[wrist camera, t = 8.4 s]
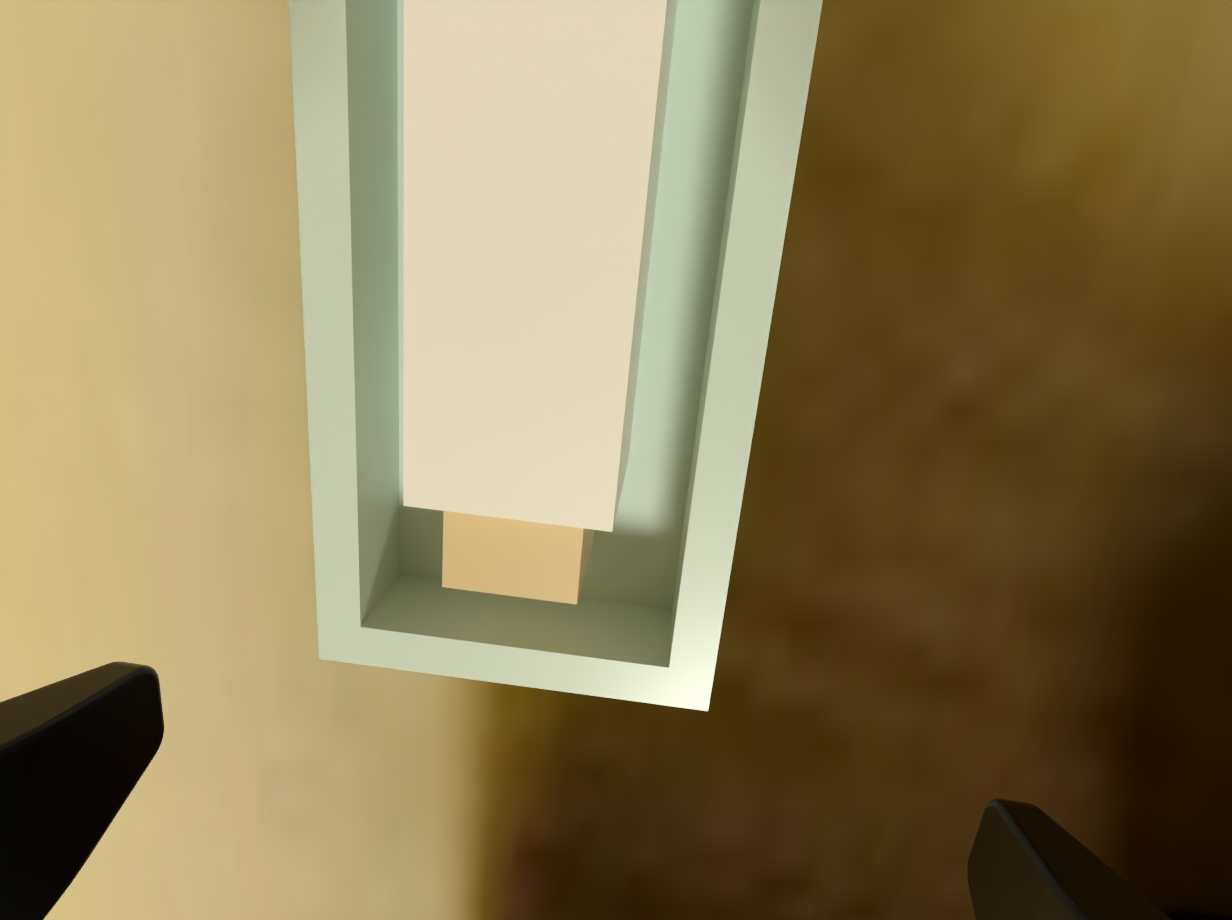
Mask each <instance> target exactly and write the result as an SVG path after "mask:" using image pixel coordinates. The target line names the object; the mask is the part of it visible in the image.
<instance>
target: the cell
mask: <svg viewBox="0 0 1232 920" xmlns="http://www.w3.org/2000/svg"><path fill="white" fill-rule="evenodd" d="M677 1H678V0H404V249H403V506H409V507H417V508H425V509H433V510H441V511H444V513H443V563H442V587H446V588H453V589H461V590H468V591H476V592H484V593H491V594H499V595H507V596H514V597H522V598H530V599H537V600H545V601H553V602H560V603H568V604H576V605H577V602H578V598H579V595H580V591H581V587H582V584H583V580H584V576H585V572H586V569H587V565H588V561H589V558H590V554H591V550H592V546H593V539H594V530H600V531H608V532H613V527H614V523H615V518H616V514H617V509H618V505H619V500H620V496H621V491H622V487H623V482H624V478H625V473H626V469H627V464H628V459H629V450H630V441H631V431H632V422H633V413H634V403H635V394H636V385H637V375H638V366H639V357H640V347H641V338H642V329H643V319H644V310H645V301H646V291H647V282H648V272H649V263H650V254H651V244H652V235H653V226H654V216H655V207H656V198H657V188H658V179H659V170H660V160H661V151H662V142H663V132H664V123H665V114H666V104H667V95H668V86H669V76H670V67H671V58H672V48H673V39H674V29H675V20H676V11H677Z"/></svg>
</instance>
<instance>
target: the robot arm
mask: <svg viewBox="0 0 1232 920" xmlns="http://www.w3.org/2000/svg"><path fill="white" fill-rule="evenodd" d="M163 733H164V721H163V712H162V703H161V694H160V685H159V678H158V674H157V673H156V671H155V670H154V669H153V668H151V667H150V666H146V665H140V664H133V663H127V662H112V663H109V664H106V665H103V666H100V667H98V668H95V669H92V670H89V671H86V672H84V673H81V674H78V675H75V676H73V677H70V678H67V679H64V680H61V681H59V682H56V683H53V684H50V685H47V686H45V687H42V688H39V689H36V690H33V691H31V692H28V693H25V694H22V695H19V696H17V697H14V698H11V699H8V700H6V701H3V702H0V920H43V919H44V918H45V917H46V915H47V914H48V913H49V911H50V910H51V909H52V908H53V906H54V905H55V904H56V902H57V901H58V900H59V898H60V897H61V896H62V894H63V893H64V892H65V890H66V889H67V888H68V886H69V885H70V884H71V882H72V881H73V879H74V878H75V877H76V875H77V874H78V872H79V871H80V869H81V868H82V866H83V865H84V863H85V862H86V861H87V859H88V858H89V856H90V855H91V853H92V851H93V850H94V848H95V847H96V845H97V844H98V842H99V841H100V839H101V838H102V836H103V834H104V833H105V831H106V830H107V828H108V827H109V825H110V824H111V822H112V821H113V819H114V818H115V816H116V814H117V813H118V811H119V810H120V808H121V807H122V805H123V804H124V802H125V801H126V799H127V797H128V796H129V794H130V793H131V791H132V790H133V788H134V787H135V785H136V784H137V782H138V780H139V779H140V777H141V776H142V774H143V773H144V771H145V770H146V768H147V767H148V765H149V764H150V762H151V760H152V759H153V757H154V756H155V754H156V752H157V751H158V749H159V747H160V744H161V742H162V738H163ZM968 883H969V889H970V894H971V898H972V903H973V908H974V913H975V917H976V920H1215V919H1208V918H1201V917H1194V916H1187V915H1177V916H1173V917H1170V918H1169V917H1168V916H1166V915H1165V914H1164V913H1163V912H1162V911H1161V910H1159V909H1158V908H1157V907H1156V906H1155V905H1153V904H1152V903H1151V902H1150V901H1149V900H1148V899H1146V898H1145V897H1144V896H1143V895H1142V894H1140V893H1139V892H1138V891H1137V890H1136V889H1134V888H1133V887H1132V886H1131V885H1130V884H1129V883H1127V882H1126V881H1125V880H1124V879H1123V878H1121V877H1120V876H1119V875H1118V874H1117V873H1115V872H1114V871H1113V870H1112V869H1111V868H1110V867H1108V866H1107V865H1106V864H1105V863H1104V862H1102V861H1101V860H1100V859H1099V858H1098V857H1096V856H1095V855H1094V854H1093V853H1092V852H1091V851H1089V850H1088V849H1087V848H1086V847H1085V846H1083V845H1082V844H1081V843H1080V842H1079V841H1077V840H1076V839H1075V838H1074V837H1073V836H1072V835H1070V834H1069V833H1068V832H1067V831H1066V830H1064V829H1063V828H1062V827H1061V826H1060V825H1058V824H1057V823H1056V822H1055V821H1054V820H1053V819H1051V818H1050V817H1049V816H1048V815H1047V814H1045V813H1044V812H1043V811H1042V810H1041V809H1039V808H1038V807H1037V806H1035V805H1033V804H1029V803H1024V802H1018V801H1011V800H1005V799H994V800H992V801H990V802H989V803H988V805H987V806H986V808H985V811H984V814H983V817H982V820H981V823H980V826H979V829H978V832H977V835H976V838H975V841H974V844H973V847H972V850H971V853H970V856H969V860H968Z"/></svg>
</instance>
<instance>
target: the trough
mask: <svg viewBox="0 0 1232 920" xmlns="http://www.w3.org/2000/svg"><path fill="white" fill-rule="evenodd" d="M822 2H823V0H678V1H677V11H676V20H675V29H674V39H673V48H672V58H671V67H670V76H669V86H668V95H667V104H666V114H665V123H664V132H663V142H662V151H661V160H660V170H659V179H658V188H657V198H656V207H655V216H654V226H653V235H652V244H651V254H650V263H649V272H648V282H647V291H646V301H645V310H644V319H643V329H642V338H641V347H640V357H639V366H638V375H637V385H636V394H635V403H634V413H633V422H632V431H631V441H630V450H629V459H628V464H627V469H626V473H625V478H624V482H623V487H622V491H621V496H620V500H619V505H618V509H617V514H616V518H615V523H614V527H613V532H608V531H600V530H594V539H593V546H592V550H591V554H590V558H589V561H588V565H587V569H586V572H585V576H584V580H583V584H582V587H581V591H580V595H579V598H578V602H577V605H576V604H568V603H560V602H553V601H545V600H537V599H530V598H522V597H514V596H507V595H499V594H491V593H484V592H476V591H468V590H461V589H453V588H446V587H442V563H443V513H444V511H441V510H433V509H425V508H417V507H409V506H403V249H404V0H289V12H290V34H291V56H292V77H293V99H294V121H295V143H296V165H297V186H298V208H299V230H300V252H301V273H302V295H303V317H304V339H305V360H306V382H307V404H308V426H309V448H310V469H311V491H312V513H313V535H314V556H315V578H316V600H317V622H318V643H319V659H325V660H332V661H340V662H347V663H355V664H362V665H369V666H377V667H384V668H392V669H399V670H407V671H414V672H421V673H429V674H436V675H444V676H451V677H458V678H466V679H473V680H481V681H488V682H496V683H503V684H510V685H518V686H525V687H533V688H540V689H547V690H555V691H562V692H570V693H577V694H585V695H592V696H599V697H607V698H614V699H622V700H629V701H636V702H644V703H651V704H659V705H666V706H674V707H681V708H688V709H696V710H703V711H708V709H709V702H710V696H711V690H712V684H713V678H714V671H715V665H716V659H717V653H718V647H719V640H720V634H721V628H722V622H723V616H724V609H725V603H726V597H727V591H728V585H729V578H730V572H731V566H732V560H733V554H734V547H735V541H736V535H737V529H738V523H739V516H740V510H741V504H742V498H743V492H744V485H745V479H746V473H747V467H748V461H749V454H750V448H751V442H752V436H753V430H754V423H755V417H756V411H757V405H758V399H759V392H760V386H761V380H762V374H763V368H764V361H765V355H766V349H767V343H768V337H769V331H770V324H771V318H772V312H773V306H774V300H775V293H776V287H777V281H778V275H779V269H780V262H781V256H782V250H783V244H784V238H785V231H786V225H787V219H788V213H789V207H790V200H791V194H792V188H793V182H794V176H795V169H796V163H797V157H798V151H799V145H800V138H801V132H802V126H803V120H804V114H805V107H806V101H807V95H808V89H809V83H810V76H811V70H812V64H813V58H814V52H815V45H816V39H817V33H818V27H819V21H820V14H821V8H822Z"/></svg>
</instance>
